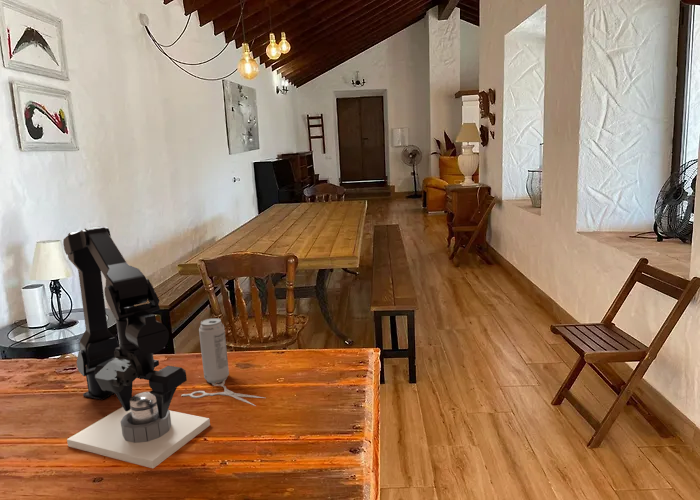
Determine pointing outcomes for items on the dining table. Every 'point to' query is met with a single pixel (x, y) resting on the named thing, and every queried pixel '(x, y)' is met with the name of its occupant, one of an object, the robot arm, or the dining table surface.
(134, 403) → the piston
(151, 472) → the dining table surface
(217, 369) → the energy drink can
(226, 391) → the scissors
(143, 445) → the plate
